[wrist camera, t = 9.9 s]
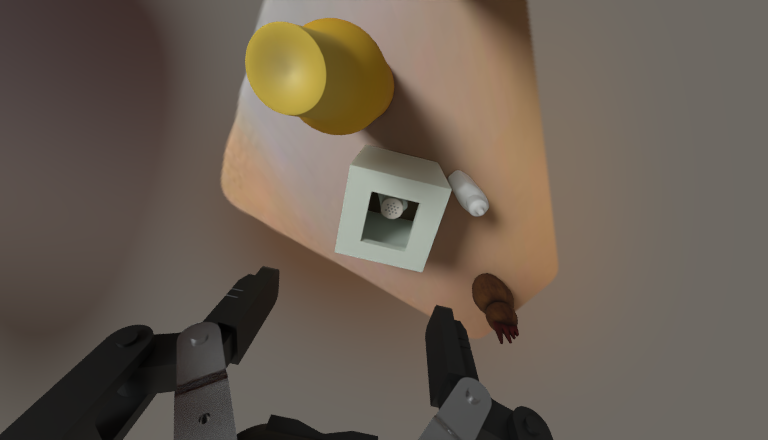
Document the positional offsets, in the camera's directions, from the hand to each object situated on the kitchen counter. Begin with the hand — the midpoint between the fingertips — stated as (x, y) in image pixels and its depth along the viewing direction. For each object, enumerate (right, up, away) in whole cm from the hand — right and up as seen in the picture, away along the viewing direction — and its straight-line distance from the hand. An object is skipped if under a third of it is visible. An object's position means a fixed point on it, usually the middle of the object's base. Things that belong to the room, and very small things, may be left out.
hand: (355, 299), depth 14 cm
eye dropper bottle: (+15, +10, +32) cm, 36 cm away
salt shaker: (+3, +10, +33) cm, 34 cm away
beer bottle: (-2, +24, +26) cm, 36 cm away
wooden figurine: (+21, -8, +39) cm, 46 cm away
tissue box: (+3, +9, +32) cm, 34 cm away
